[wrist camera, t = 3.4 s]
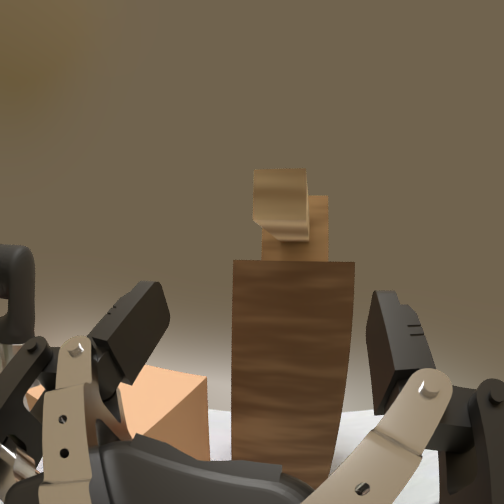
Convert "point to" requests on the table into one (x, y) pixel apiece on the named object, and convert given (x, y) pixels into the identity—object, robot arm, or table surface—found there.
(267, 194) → the mallet
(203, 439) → the pedestal
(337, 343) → the walnut block
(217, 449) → the table surface
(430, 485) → the table surface
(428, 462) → the table surface
